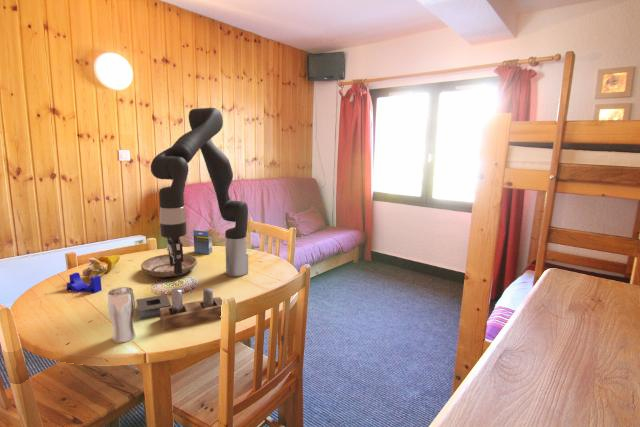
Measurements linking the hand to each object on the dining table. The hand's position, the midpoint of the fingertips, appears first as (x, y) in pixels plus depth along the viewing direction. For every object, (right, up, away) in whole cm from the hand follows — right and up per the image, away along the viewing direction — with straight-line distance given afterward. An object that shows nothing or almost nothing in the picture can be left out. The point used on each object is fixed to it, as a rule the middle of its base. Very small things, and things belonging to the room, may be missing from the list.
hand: (175, 269), depth 116 cm
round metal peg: (-1, -18, +4) cm, 18 cm away
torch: (-49, -8, +44) cm, 66 cm away
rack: (+4, -17, +6) cm, 19 cm away
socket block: (-12, -16, +11) cm, 23 cm away
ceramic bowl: (-22, -9, +47) cm, 53 cm away
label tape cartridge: (-16, -3, +76) cm, 78 cm away
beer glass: (-13, -20, -7) cm, 25 cm away
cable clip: (-46, -12, +25) cm, 54 cm away
